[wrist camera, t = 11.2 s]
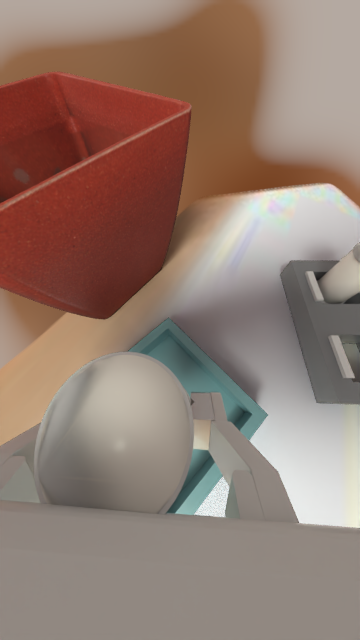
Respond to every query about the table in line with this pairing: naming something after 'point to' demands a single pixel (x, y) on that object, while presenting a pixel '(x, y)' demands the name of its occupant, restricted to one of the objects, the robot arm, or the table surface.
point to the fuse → (342, 279)
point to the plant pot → (87, 189)
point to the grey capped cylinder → (116, 437)
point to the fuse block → (323, 331)
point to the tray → (195, 377)
